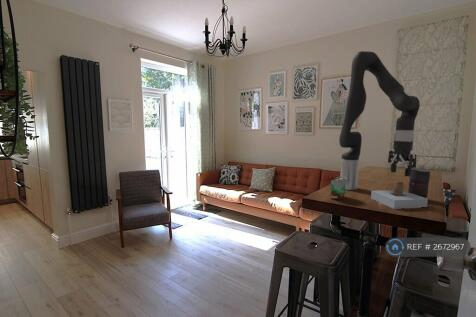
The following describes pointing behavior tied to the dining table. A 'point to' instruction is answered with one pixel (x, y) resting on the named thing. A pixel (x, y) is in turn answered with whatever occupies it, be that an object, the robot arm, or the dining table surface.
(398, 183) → the peg
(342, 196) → the food container
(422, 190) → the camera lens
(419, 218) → the dining table surface
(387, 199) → the socket board
